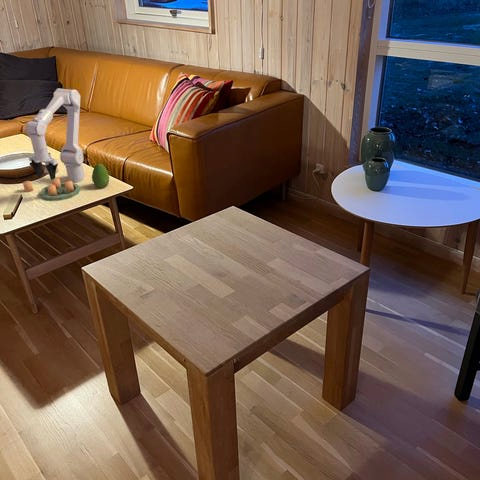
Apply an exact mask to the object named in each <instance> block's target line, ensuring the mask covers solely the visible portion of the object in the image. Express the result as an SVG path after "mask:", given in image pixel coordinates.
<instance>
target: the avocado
mask: <svg viewBox="0 0 480 480" xmlns="http://www.w3.org/2000/svg"><path fill="white" fill-rule="evenodd" d="M109 174H110V173H109V172H108V171H107V168H106V167H105V165H104V164H103V163H97V164H96V165H94V168H93V171H92V174H91V180H92V182H93V184H94V186H95V187H97V188H99V189H103V188H106V187H107V186H109V183H110V175H109Z"/></svg>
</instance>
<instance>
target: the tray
mask: <svg viewBox="0 0 480 480" xmlns="http://www.w3.org/2000/svg"><path fill="white" fill-rule="evenodd" d="M60 183H61V188H60V189H57V190H56V191H57V196H49V194H48V189H47V186H45V187H43V188H42V189H41V190H40V191H39V195H40V197H41V198H42V199H43V200H47V201H64V200H67V199H71V198H74V197H75V196H77V195H79V194H80V191H81V188H80V186H79V185H78V183H73V187H74V192H72V193H70V194H67V193H66V188H65V184H64V182H60ZM51 185H53V184H51Z"/></svg>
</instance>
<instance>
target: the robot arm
mask: <svg viewBox="0 0 480 480" xmlns="http://www.w3.org/2000/svg"><path fill="white" fill-rule="evenodd" d="M61 106H62V107H64V108H65V109H66V111H67V114H66V115H67V116H66V117H67V118H66V137H65V141H66V142H65V144H64V145H63V146H61V152H60V155H59V159H60V162H62V163H63V165H64V166H65V171H66V174H67V175H66V176H67V179H68V180H67V181H72V182H73V183H74V184H78V183H81V182H83V181H84V177H85V172H84V166H83V162H84V154H83V149H82V147H80V146H79V134H80V133H79V130H80V113H81V111H80V109H81V94H80V93H79V92H78V90H76V89H69V88H68V89H66V88H61V87H60V88H58V87H57V88H56V89H55V91H54V92H53V97H52V99H51V100H50V102H49V103H48V105H47V106H46V108H41V109H40V110H39V111H38V113H37V114H36V116H34V118H33V119H32V120H29V121H28V122H27V123H26V124H25V129H24V130H25V132H26V134H27V135H28V138H29V139H30V141H31V146H32V149H33V150H32V151H33V154H34V155H30V156H28V160H29V161H30V162H29V166H31V168H32V169H33V170H34V172H35V173H36V175H37V178H40V177H43V175H44V174H43V173H44V172H43V170H42V169H43V167H42V164H43V163H44V164H45V163H48V164H49V165H46V166H45V165H44V168H45V167H46V168H47V170H48V172H49V174H48V175H49V178H50V180H51V181H52V180H53V179H55V178H56V173H57V172H56V168H58V166H59V164H58V163H59V162H58V161H57V159H55V158H52V156H51V157H49V154H48V153H49V151H48V146H47V141H46V137H45V134H46V133H47V128H48V125H49V124H50V123H51V121H52V120H54V119H53V118H54V116H53V115H54V114H55V112H56V111H57V110H59V108H61Z"/></svg>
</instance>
